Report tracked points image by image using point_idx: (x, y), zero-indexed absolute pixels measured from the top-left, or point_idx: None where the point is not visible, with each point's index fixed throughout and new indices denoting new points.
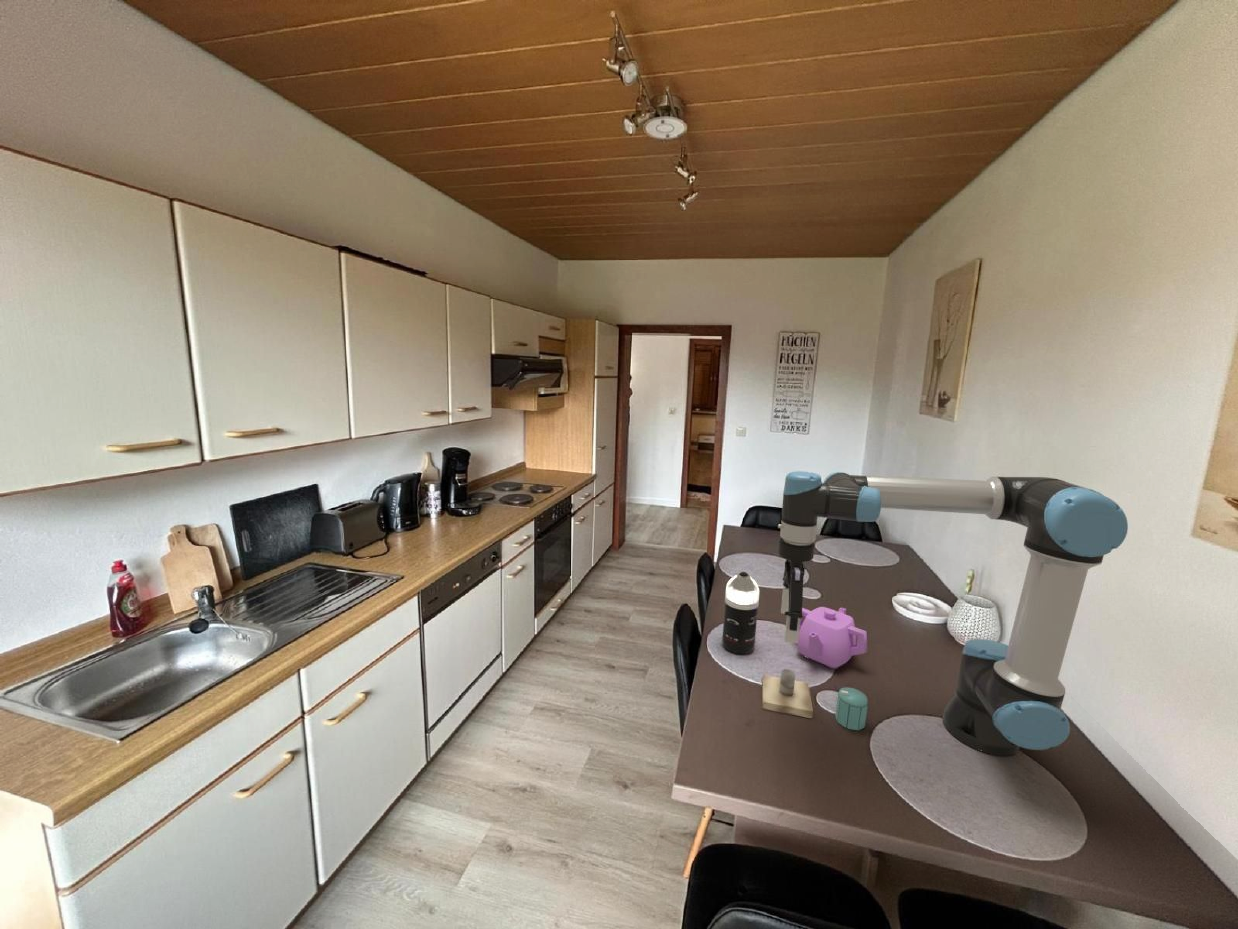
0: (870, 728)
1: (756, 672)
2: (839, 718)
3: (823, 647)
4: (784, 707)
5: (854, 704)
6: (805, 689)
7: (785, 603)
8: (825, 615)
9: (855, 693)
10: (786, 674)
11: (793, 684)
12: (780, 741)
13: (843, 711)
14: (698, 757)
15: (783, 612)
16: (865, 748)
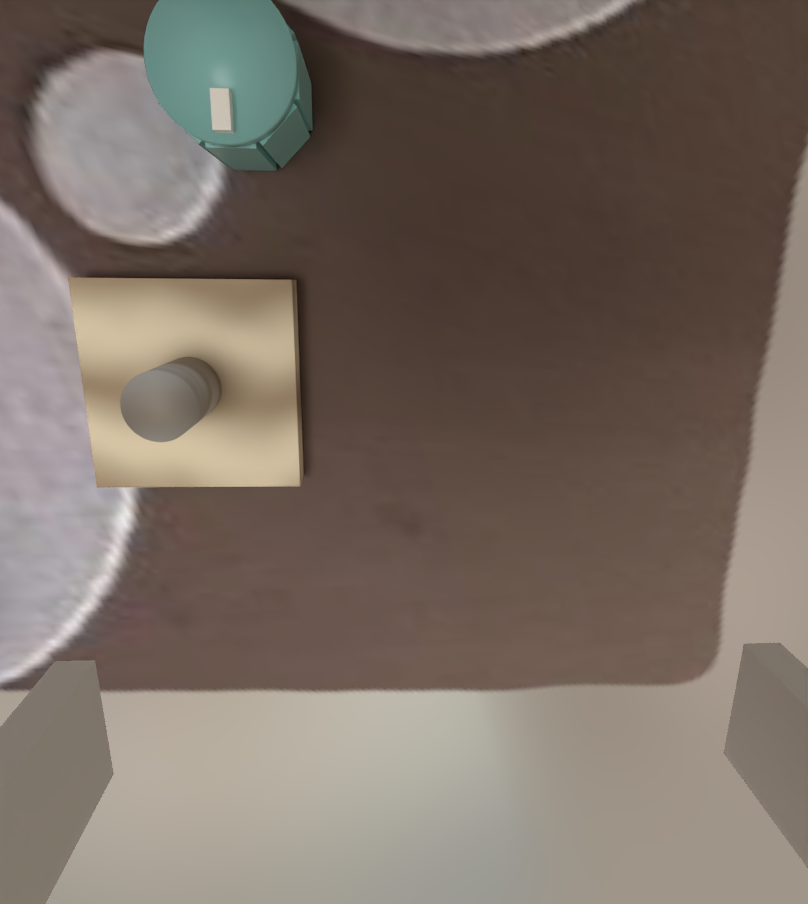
0: None
1: (51, 498)
2: (284, 158)
3: None
4: (297, 399)
5: (296, 70)
6: (132, 296)
7: (31, 868)
8: None
9: (192, 39)
10: (173, 417)
11: (190, 371)
12: (470, 416)
13: (287, 136)
14: (607, 660)
15: (101, 763)
16: (418, 72)
